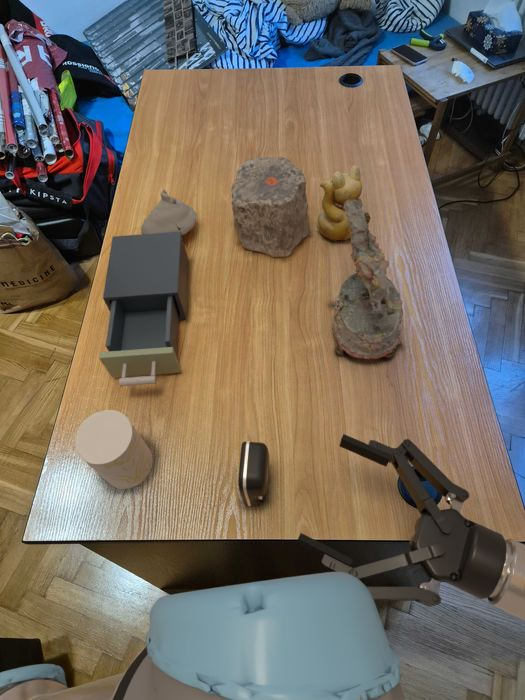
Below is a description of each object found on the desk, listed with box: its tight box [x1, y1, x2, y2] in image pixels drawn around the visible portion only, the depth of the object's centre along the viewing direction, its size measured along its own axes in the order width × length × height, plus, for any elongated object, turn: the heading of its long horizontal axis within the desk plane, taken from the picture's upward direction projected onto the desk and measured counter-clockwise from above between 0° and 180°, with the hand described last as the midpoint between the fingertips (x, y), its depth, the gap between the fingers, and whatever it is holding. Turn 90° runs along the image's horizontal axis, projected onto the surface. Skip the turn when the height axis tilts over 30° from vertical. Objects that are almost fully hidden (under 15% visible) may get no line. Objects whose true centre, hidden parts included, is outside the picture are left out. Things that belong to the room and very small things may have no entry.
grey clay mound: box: [140, 188, 198, 236], centre depth 101 cm, size 12×12×11 cm
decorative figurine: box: [316, 164, 363, 243], centre depth 96 cm, size 10×8×15 cm
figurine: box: [331, 200, 404, 360], centre depth 79 cm, size 20×13×25 cm, turn 177°
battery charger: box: [237, 440, 270, 507], centre depth 69 cm, size 7×4×11 cm, turn 176°
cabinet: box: [102, 231, 189, 322], centre depth 92 cm, size 16×14×9 cm
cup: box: [74, 409, 154, 490], centre depth 71 cm, size 8×8×12 cm
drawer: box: [99, 295, 182, 387], centre depth 84 cm, size 19×12×7 cm, turn 3°
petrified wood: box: [231, 156, 311, 258], centre depth 98 cm, size 19×17×15 cm
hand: (321, 486), depth 59 cm, fingers open, 13 cm apart
